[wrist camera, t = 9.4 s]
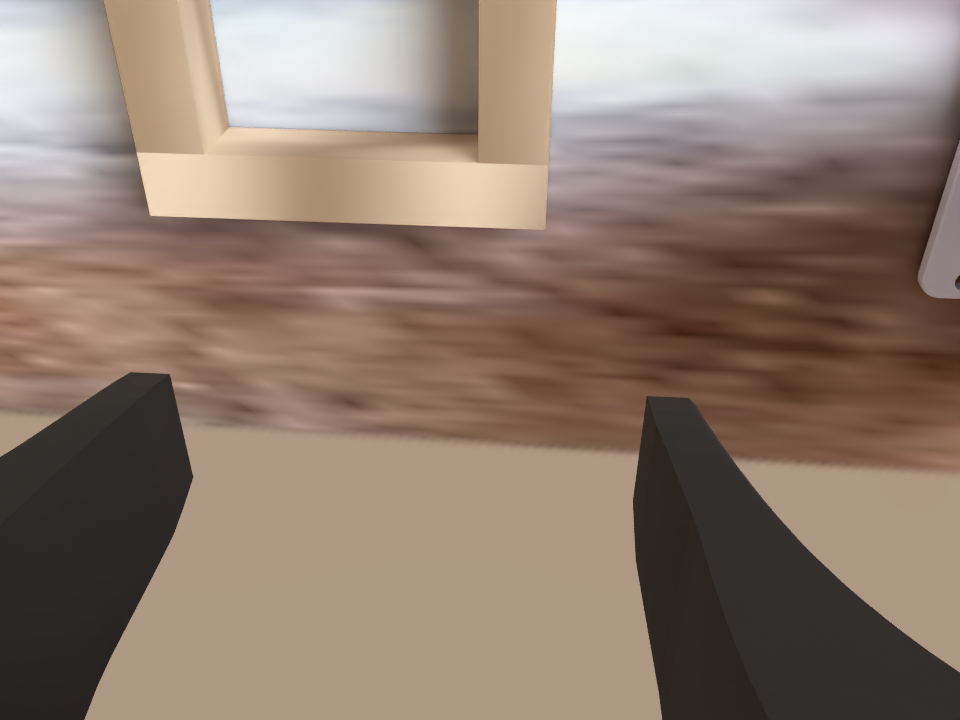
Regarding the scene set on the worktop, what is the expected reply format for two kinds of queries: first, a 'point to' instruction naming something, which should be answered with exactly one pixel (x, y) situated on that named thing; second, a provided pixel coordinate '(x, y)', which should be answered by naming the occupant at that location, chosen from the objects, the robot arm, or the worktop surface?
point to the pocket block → (335, 133)
